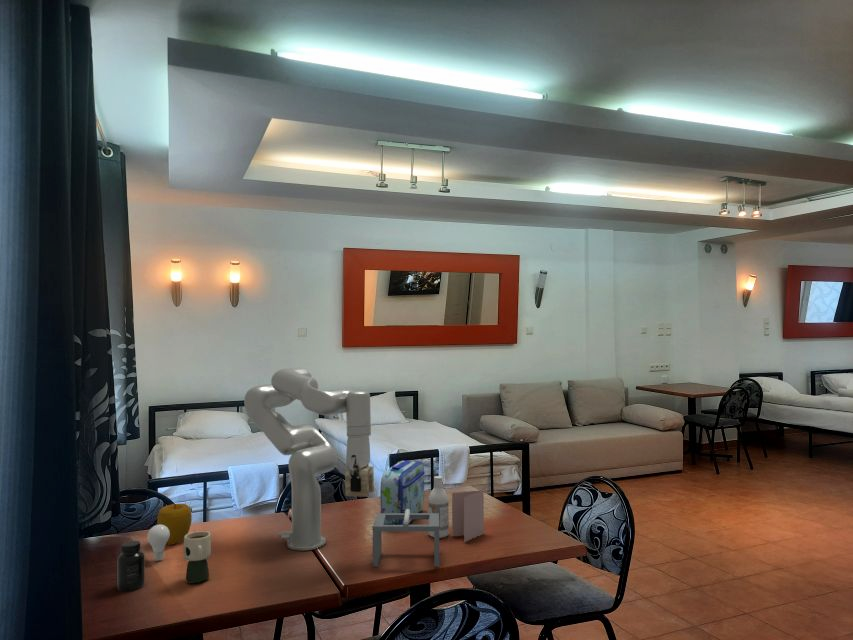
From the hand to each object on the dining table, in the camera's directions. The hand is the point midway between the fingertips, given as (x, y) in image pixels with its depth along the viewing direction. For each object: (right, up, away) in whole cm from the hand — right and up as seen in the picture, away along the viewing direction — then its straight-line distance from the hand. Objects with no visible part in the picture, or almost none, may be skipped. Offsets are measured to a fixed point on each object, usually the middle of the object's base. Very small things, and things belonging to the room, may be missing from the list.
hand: (359, 487), depth 188 cm
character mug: (-44, -22, -16) cm, 52 cm away
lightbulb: (-62, -22, -1) cm, 66 cm away
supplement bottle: (-61, -22, -20) cm, 68 cm away
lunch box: (+12, -23, +39) cm, 47 cm away
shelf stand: (+15, -22, 0) cm, 26 cm away
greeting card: (+36, -22, +18) cm, 46 cm away
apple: (-64, -23, +15) cm, 70 cm away
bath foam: (+25, -22, +21) cm, 40 cm away
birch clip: (0, -2, 0) cm, 2 cm away
